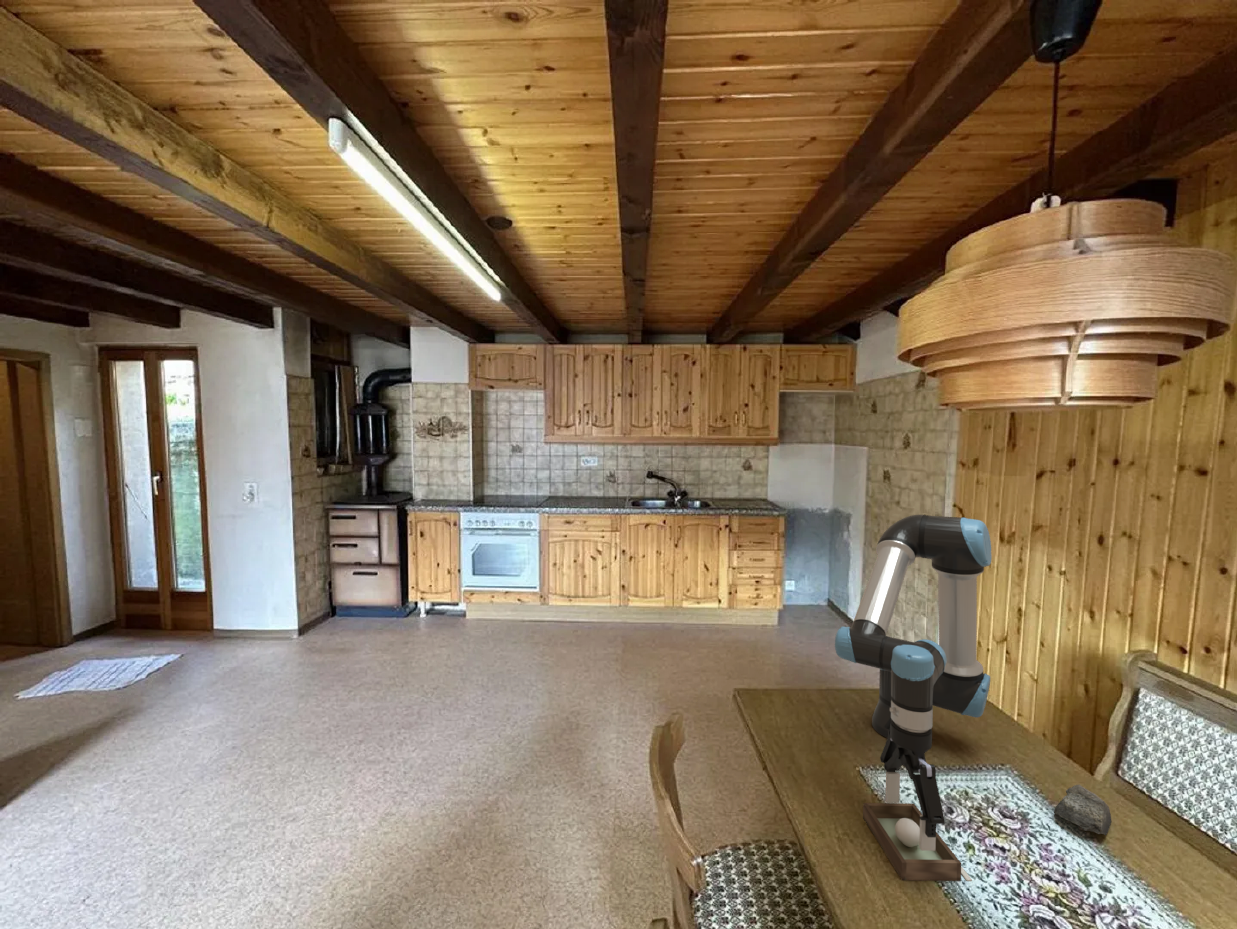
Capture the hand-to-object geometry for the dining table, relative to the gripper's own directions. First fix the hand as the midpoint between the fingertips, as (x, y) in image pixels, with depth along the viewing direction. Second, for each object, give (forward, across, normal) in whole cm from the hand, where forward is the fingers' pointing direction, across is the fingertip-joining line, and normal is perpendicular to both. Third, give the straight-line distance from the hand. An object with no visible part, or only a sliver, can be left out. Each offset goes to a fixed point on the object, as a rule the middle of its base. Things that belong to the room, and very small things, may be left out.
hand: (908, 824), depth 110 cm
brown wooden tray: (+5, 0, 0) cm, 5 cm away
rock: (+5, -8, +42) cm, 43 cm away
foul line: (+5, 0, +7) cm, 9 cm away
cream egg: (+4, 0, 0) cm, 4 cm away
